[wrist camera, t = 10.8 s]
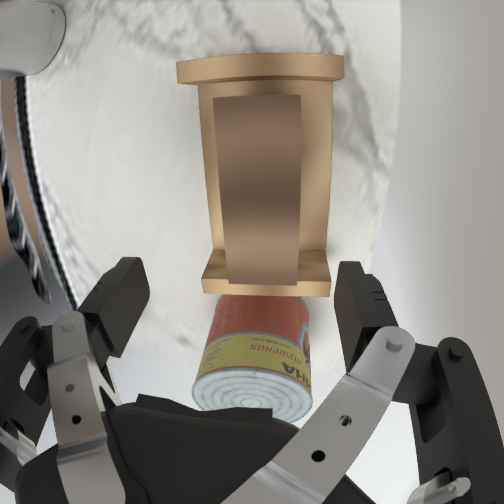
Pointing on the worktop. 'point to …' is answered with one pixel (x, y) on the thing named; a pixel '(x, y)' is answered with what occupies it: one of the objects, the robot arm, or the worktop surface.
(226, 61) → the peg frame
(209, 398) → the canned food
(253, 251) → the brown wooden block
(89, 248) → the worktop surface
